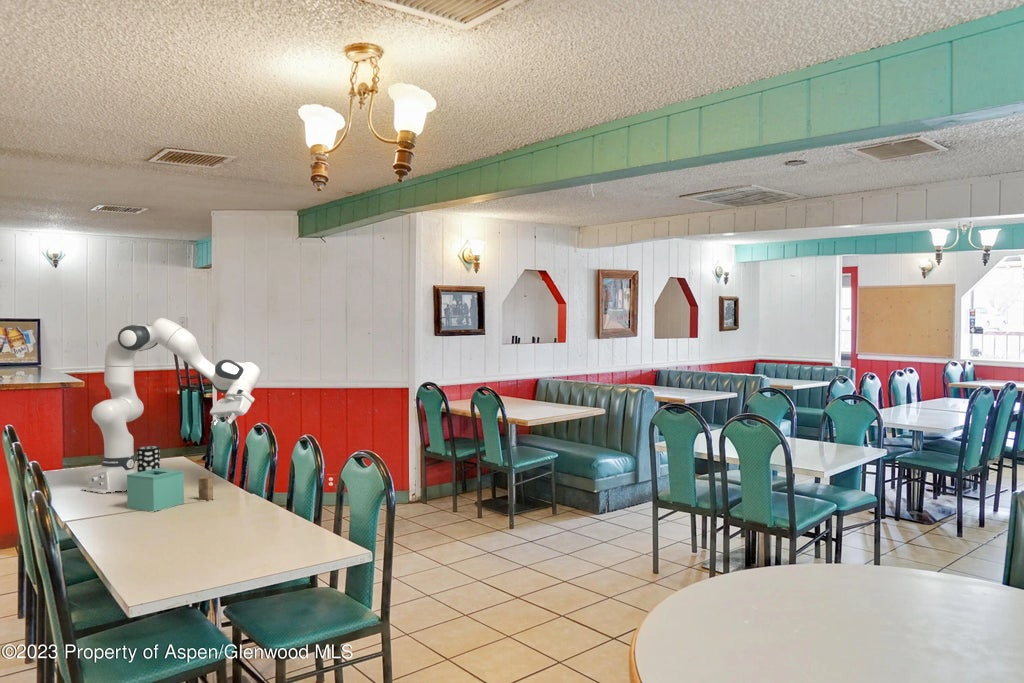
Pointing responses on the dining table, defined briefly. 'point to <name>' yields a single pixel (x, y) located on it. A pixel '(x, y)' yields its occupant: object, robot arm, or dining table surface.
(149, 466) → the white-spotted black cylinder
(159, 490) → the box
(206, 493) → the brown rectangular block
